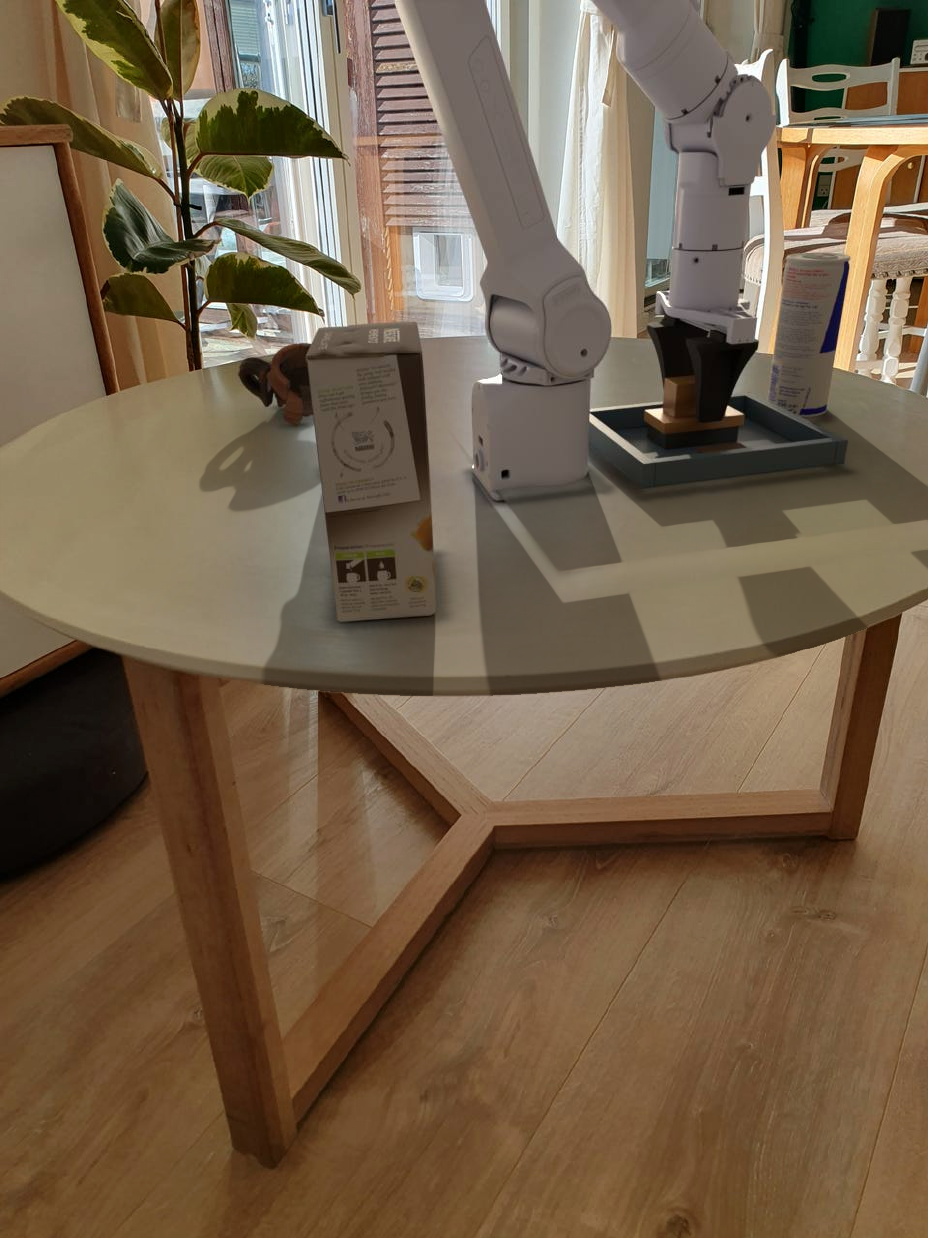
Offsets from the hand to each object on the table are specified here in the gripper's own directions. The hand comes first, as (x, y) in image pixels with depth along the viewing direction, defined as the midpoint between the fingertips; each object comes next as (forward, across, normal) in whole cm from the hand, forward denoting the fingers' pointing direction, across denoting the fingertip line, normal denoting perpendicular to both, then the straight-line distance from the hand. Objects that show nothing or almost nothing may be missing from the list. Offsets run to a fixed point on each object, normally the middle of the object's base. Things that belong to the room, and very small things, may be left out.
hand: (693, 410), depth 78 cm
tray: (+3, -2, 0) cm, 4 cm away
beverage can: (+4, +6, -14) cm, 15 cm away
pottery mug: (+4, +24, +34) cm, 42 cm away
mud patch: (+3, -7, 0) cm, 7 cm away
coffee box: (+4, -20, +31) cm, 37 cm away
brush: (+3, 0, 0) cm, 3 cm away
